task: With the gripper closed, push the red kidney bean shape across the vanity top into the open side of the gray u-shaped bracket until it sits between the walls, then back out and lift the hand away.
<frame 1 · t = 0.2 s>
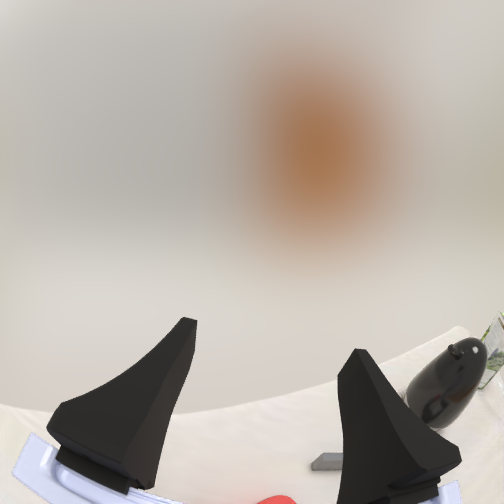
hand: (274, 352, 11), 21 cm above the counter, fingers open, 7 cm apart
black egg-shaped device: (418, 415, 29), on the counter
syrup box: (470, 379, 35), on the counter
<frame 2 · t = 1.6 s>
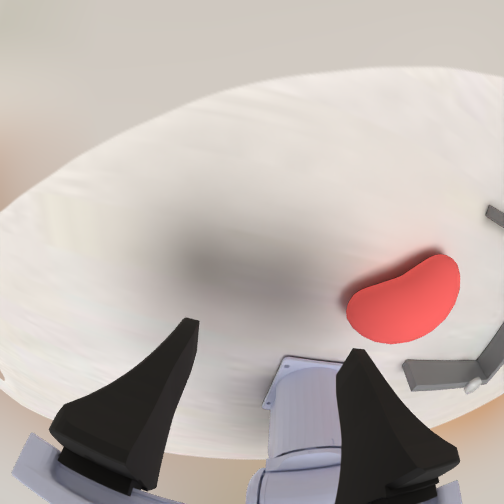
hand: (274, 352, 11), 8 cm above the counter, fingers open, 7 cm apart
gray u-shaped bracket: (487, 305, 19), on the counter
red kidney bean shape: (396, 284, 19), on the counter
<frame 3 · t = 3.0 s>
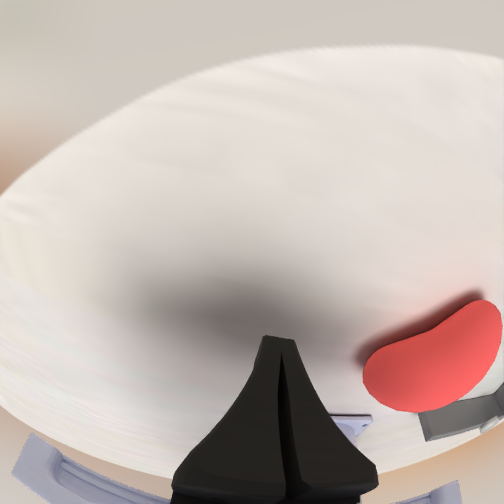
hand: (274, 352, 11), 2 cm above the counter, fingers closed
red kidney bean shape: (425, 333, 14), on the counter
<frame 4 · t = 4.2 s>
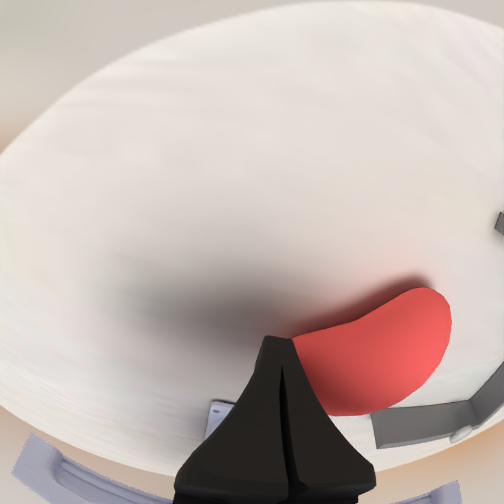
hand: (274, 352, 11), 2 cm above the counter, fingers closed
gray u-shaped bracket: (488, 343, 14), on the counter
red kidney bean shape: (356, 326, 14), on the counter, touching gripper
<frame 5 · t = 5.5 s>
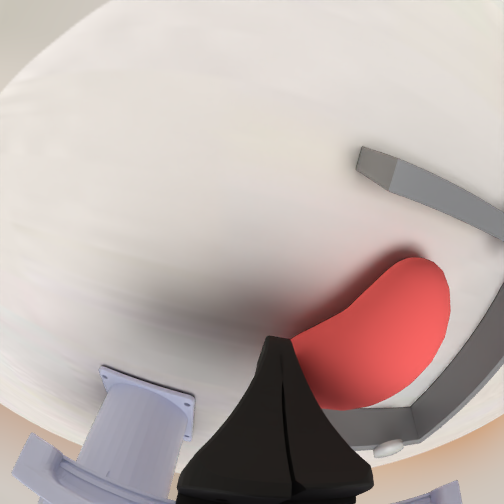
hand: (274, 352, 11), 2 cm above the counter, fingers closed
gray u-shaped bracket: (408, 338, 14), on the counter
red kidney bean shape: (354, 313, 13), on the counter, touching gripper
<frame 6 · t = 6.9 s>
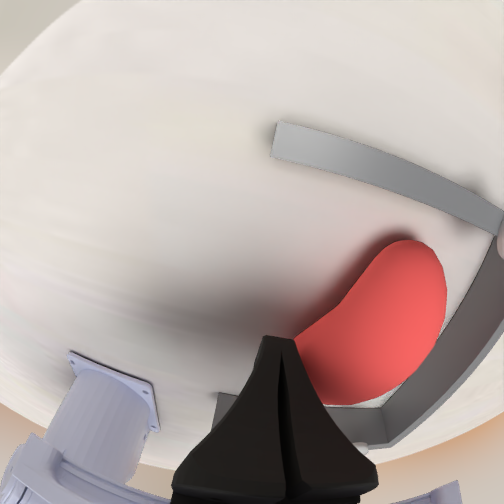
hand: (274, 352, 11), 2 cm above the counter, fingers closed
gray u-shaped bracket: (362, 332, 14), on the counter
red kidney bean shape: (354, 305, 13), on the counter
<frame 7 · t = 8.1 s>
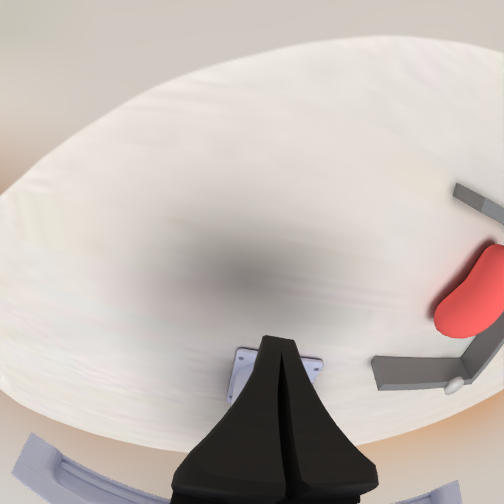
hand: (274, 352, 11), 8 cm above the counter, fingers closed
gray u-shaped bracket: (466, 298, 19), on the counter
red kidney bean shape: (465, 281, 18), on the counter
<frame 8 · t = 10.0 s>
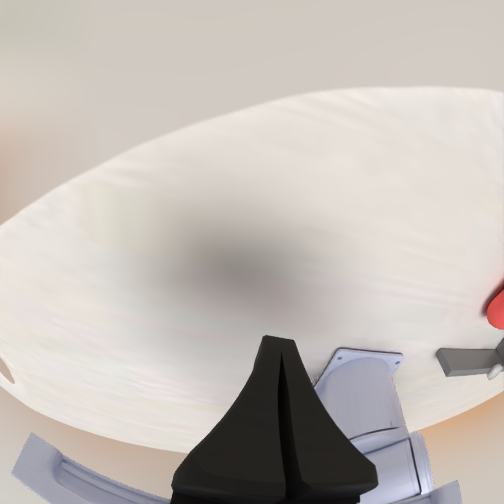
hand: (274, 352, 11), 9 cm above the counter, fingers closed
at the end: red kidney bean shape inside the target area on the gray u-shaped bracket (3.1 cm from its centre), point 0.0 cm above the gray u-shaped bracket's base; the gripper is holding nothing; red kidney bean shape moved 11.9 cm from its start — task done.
